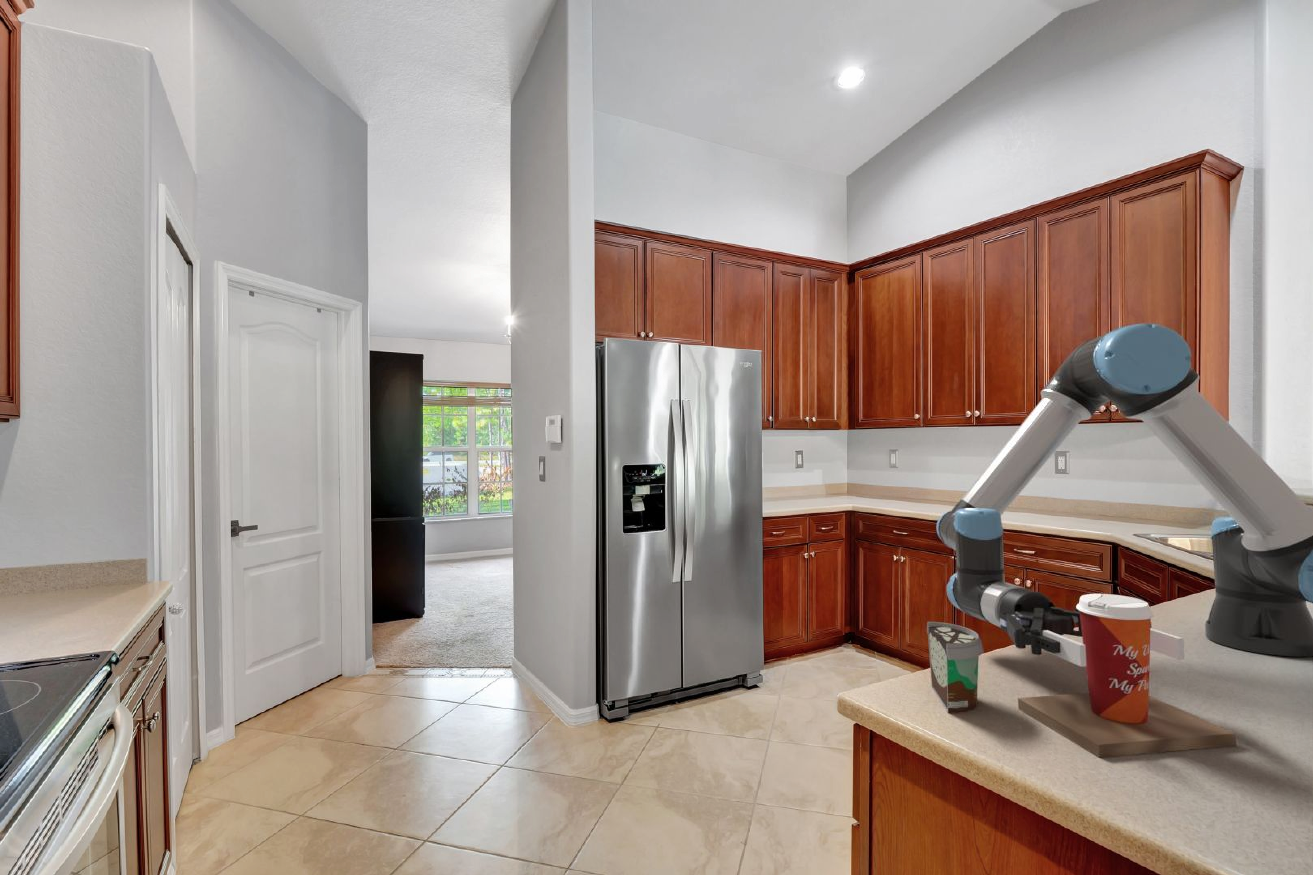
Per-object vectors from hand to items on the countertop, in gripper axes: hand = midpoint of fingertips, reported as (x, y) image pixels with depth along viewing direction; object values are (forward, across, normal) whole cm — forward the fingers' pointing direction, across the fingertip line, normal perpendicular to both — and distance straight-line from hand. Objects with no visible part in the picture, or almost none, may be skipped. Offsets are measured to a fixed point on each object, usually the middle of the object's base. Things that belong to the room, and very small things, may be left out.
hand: (1132, 652), depth 77 cm
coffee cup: (-3, 0, -9) cm, 10 cm away
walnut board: (-3, 0, -10) cm, 11 cm away
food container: (-14, +15, -11) cm, 23 cm away
